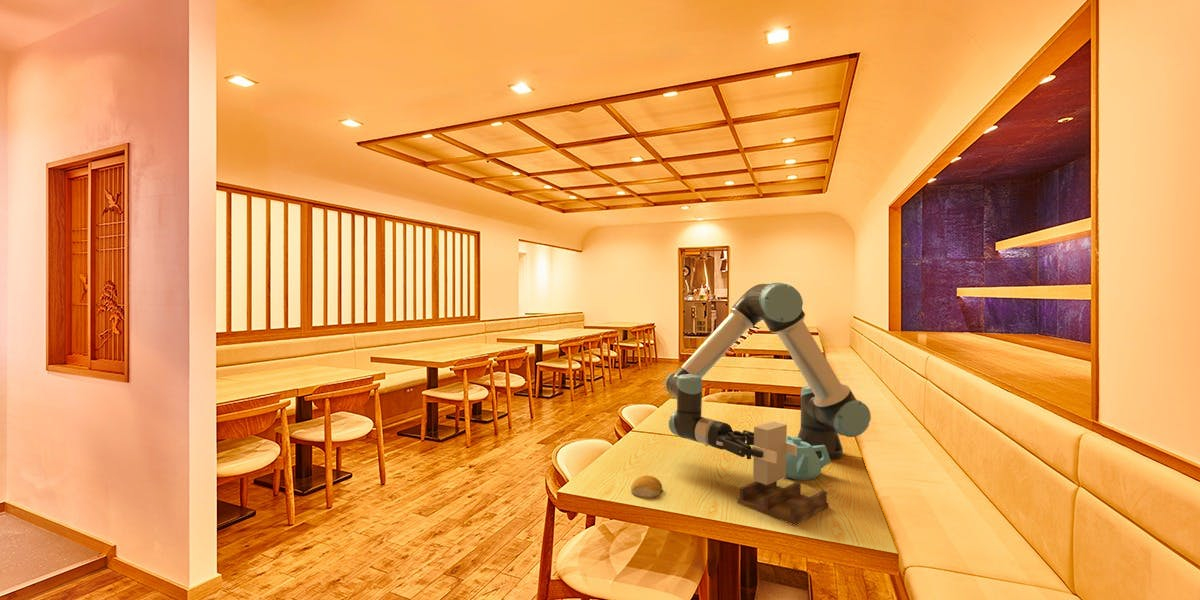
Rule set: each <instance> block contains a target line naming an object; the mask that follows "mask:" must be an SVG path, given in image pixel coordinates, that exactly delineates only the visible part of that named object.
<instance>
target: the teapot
mask: <svg viewBox="0 0 1200 600" xmlns="http://www.w3.org/2000/svg"><path fill="white" fill-rule="evenodd" d="M786 442H787V443H791V444H795V445H797V455H796V456H794V455H790V454H787V453H786V477H785V478H788V479H792V480H797V481H799V480H800V481H809V480H814V479H816V478H817V477H818V476H819V475H820V474H821V472H822V469H823V468H825V467H826V466H827V465H828V464H829V463H831V461H832V459H830V457H829V454H828V452H827V449H826V446H825V445H817V446H811V445H810V444H809V443H807V442H803V441H801V438H798V436H797V437H796V436H793V437H792V436H791V435H787V438H786ZM820 450H821V452H822V456H823V457H822V458H821V459H819V458H818V456H817V454H816V452H815V451H820Z"/></svg>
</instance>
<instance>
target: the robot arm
mask: <svg viewBox="0 0 1200 600" xmlns="http://www.w3.org/2000/svg"><path fill="white" fill-rule="evenodd" d="M803 301H804V300H803V297H802V295H801V294H800V292H799V291H798V290H797V288H795V287H794V286H792V285H789V284H787V283H784V282H772V283H759V284H756V285H753V286H752V287H750V288H749V289H748V290H746V291H745V293H744V294H743V295H742V296H741V297H740V298H739V299H738V300H737V301H736V302H735V304H734V305H732V307H730V310H729V314H728V316H727V317H726V318H724V320H722V322H721V323H720V324H719V325H718V326H717V328H715V330H714V331H712V333H711V334H710V335H709V336H708V337H707V338H706V339H705V340H704V342H703V343H701V345H700V346H699V347H698V348H697V349H696V350H695V352H693V354H692V355H690V357H689V358H688V359H687V360H686V361H685V362H684V363H683V365H681V366H680V368H678V370H676V372H672V373H670V374H669V375H668V376H666V378H665V381H664V386H665V389H666V390H667V392H668V394H669V395H670V396H672V397H673V398H675V399H676V410H675V411H673V412H672V413H671V415H670V417H669V418H670V419H669V420H668V428H669V430H670V432H671V434H673V435H675V436H677V437H680V438H682V439H686V440H690V441H693V442H697V443H699V444H702V445H704V446H705V447H708V446H710V447H713V448H715V449H719V450H722V451H723V450H725V451H727V452H729V453H731V454H734V455H737V456H738V457H740V458H745V457H746V460H752V457H753V458H754V457H755V458H759V459H762V460H765V461H768V462H772V463H777V452H774V451H771V450H767V449H764V448H760V447H757V446H754V431H753V432H752V431H749V430H747V429H743V430H742V431H740V430H733V428H732V427H731V425H730V424H728V423H726V422H723V421H719V420H716V419H712V418H707V417H704V416H702V409H703V407H702V405H703V389H704V388H703V377H705V376H706V374H707V373H708V372H709V371H710V370H711V369H712V368H713V366H715V364H717V362H718V361H719V360H720V359H721V358H722V357H723V356H724V354H726V353H727V352H728V351H729V350H730V348H731V347H732V346H733V345H734V344H735V343H736V342H737V341H738V340H739V339H740V338H741V336H742V335H744V334H745V333H746V331H747V330H748V329H753V328H754V327H756V326H755V325H757V324H758V323H759V322H761V321H763V322H764V324H765V326H766V327H767V329H768V330H769V331H770V333H772V334H776V335H778V337H779V339H780V340H781V341H782V343H783V345H784V347H785V349H786V350H787V352H788V354H789V355H790V357H791V358H792V360H793V362H794V364H795V365H796V366H797V368H798V370H799V372H800V373H801V375H802V377H803V378H804V380H805V382H806V384H807V385H804V386H802V387H801V391H800V392H801V393H800V396H799V397H800V429H799V431H798V435H797V437H798V438H801V441H803V442H807V443H809V444H810V445H811V446H817V445H825V446H826V449H827V452H828V454H829V457H830V460H837V459H838V458H839V459H841V458H843V457H844V448H843V445H842V441H841V439H840V436H844V437H847V438H855V437H858V436H861V435H862V434H863V433H865V432H866V430H867V429H868V428H869V426H870V422H871V419H872V416H871V411H870V409H869V407H868V406H867V404H866V403H864V402H863V401H861V400H858V399H857V398H856V397H855V395H854V393H853V391H852V390H851V388H850V386H848V385H847V384H843V383H841V382H840V380H839V378H838V376H837V375H836V372H834V370H833V368H832V367H831V365H830V363H829V362H828V360H827V359H826V356H825V355H824V353H823V352H822V350H821V348H820V346H819V345H818V343H817V342H816V340H815V339H814V337H813V335H812V334H811V331H810V330H809V329H808V327H807V325H806V323H805V321H804V320H805V317H806V313H805V312H804V310H803V305H804V302H803ZM815 452H816V454H817V456H818V458H819V459H821V458H822V457H823V456H822V452H821V450H820V451H815ZM786 453H787V454H790V455H794V456H796V455H797V445H795V444H791V443H787V442H786ZM842 456H843V457H842Z"/></svg>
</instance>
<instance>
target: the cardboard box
mask: <svg viewBox="0 0 1200 600" xmlns="http://www.w3.org/2000/svg"><path fill="white" fill-rule="evenodd" d="M787 426H788V424H785V423H781V422H776V421H770V422H767V423H763V424H759V425H756V426H754V427H753V433H754V445H753V446H757V447H760V448H764V449H767V450H771V451H774V452H777V463H772V462H768V461H765V460H762V459H759V458H755V457H753V466H752V468H753V471H752V473H753V474H752V475H753V476H752V481H753V482H755V481H756V482H759V483H762V484H765V485H769V484H771V483H773V482H776V481H777V482H778V481H780V480H782V479H784V478H787V477H786V440H787V436H788V435H787V433H788V432H787V430H788V427H787Z"/></svg>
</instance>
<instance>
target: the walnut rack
mask: <svg viewBox="0 0 1200 600" xmlns="http://www.w3.org/2000/svg"><path fill="white" fill-rule="evenodd" d="M777 482H778V481H776V482H773V483H771V484H769V485H765V484H762V483H759V482H756V481H753V482H751V483H748V484H746V485H743V486H742V487H739V497H738V498H737V503H738V504H740V505H742V504H743V506H745V507H747V506H748V507H747V508H750V507H751V508H750V509H752V508H753V510H755V509H756V510H755V511H757V510H758V511H757V512H760V513H763V514H766V515H767V514H768V516H770V515H771V517H772V516H773V518H776V519H777V520H780V519H782V520H781V521H783V520H784V521H783V522H785V521H787V522H786V523H788V522H790V523H792V524H791V525H793V524H795V525H797V524H799V523H800V524H802V523H803V522H802V521H804V520H806V519H807V520H809V519H811V518H813V517H814V516H816V515H818V514H820V513H821V512H823V511H825V510H827V509H828V508H829V503H828V502H827V500H828V499H827V498H828V497H827V496H828V491H826V490H824V489H822V490H820V491H818V492H816V493H815V494H813V495H810V496H807V495H805V494H802V493H801V491H802V490H801V488H802V487H801V485H802V483H801V482H799V481H795V482H793V483H791V484H788V485H786V486H785V487H781V486H778V485H777ZM819 512H820V513H819ZM812 516H813V517H812ZM810 517H811V518H810ZM808 518H809V519H808ZM807 520H806V521H807ZM801 522H802V523H801ZM804 522H805V521H804ZM790 523H789V524H790ZM800 524H799V525H800ZM795 525H794V526H795ZM797 526H798V525H797Z"/></svg>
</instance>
